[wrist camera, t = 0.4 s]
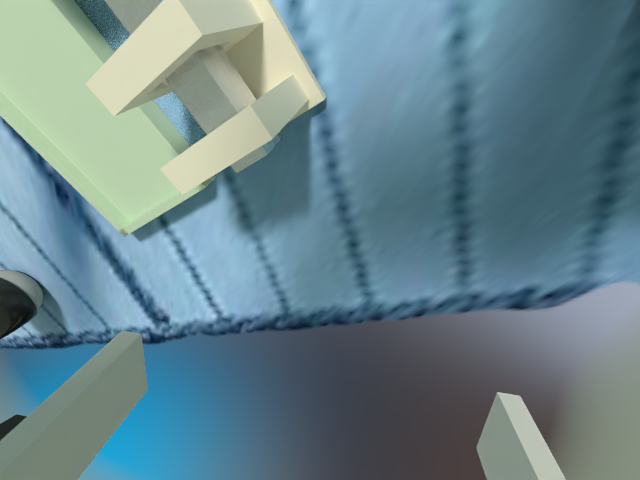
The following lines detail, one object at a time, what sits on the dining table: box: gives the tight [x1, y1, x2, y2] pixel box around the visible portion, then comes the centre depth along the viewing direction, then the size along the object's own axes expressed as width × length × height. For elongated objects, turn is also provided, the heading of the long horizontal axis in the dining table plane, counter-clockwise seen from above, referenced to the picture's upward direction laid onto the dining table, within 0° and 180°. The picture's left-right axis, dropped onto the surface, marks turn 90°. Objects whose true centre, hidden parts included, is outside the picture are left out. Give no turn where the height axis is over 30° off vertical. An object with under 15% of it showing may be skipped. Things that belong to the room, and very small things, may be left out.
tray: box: [0, 0, 216, 237], centre depth 36 cm, size 16×31×2 cm, turn 33°
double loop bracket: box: [86, 0, 326, 195], centre depth 27 cm, size 11×12×12 cm
